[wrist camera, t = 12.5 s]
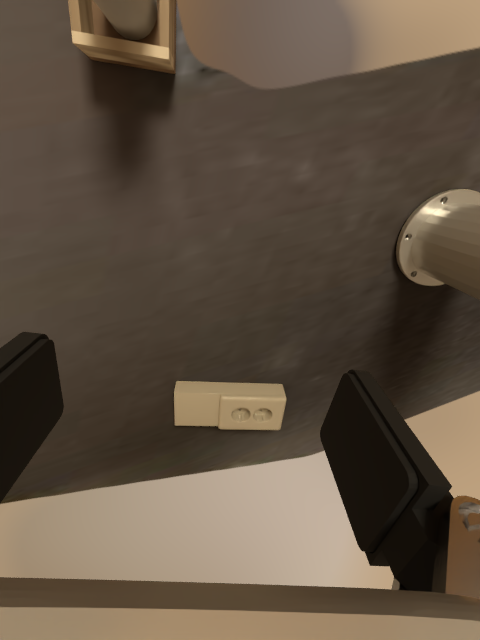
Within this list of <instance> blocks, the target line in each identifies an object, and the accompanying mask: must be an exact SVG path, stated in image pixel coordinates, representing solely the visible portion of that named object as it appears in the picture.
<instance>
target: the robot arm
mask: <svg viewBox="0 0 480 640" xmlns="http://www.w3.org/2000/svg"><path fill="white" fill-rule="evenodd" d="M396 258H397V263H398V266H399V268H400V270H401V271H402V273H403V274H404V275H405V276H406V277H407V278H408V279H410V280H412V281H413V282H415V283H417V284H421V285H424V286H438V285H443V284H447V285H449V286H451V287H453V288H455V289H458V290H460V291H462V292H464V293H466V294H468V295H470V296H472V297H474V298H476V299H478V300H480V193H479V192H477V191H473V190H469V189H453V190H448V191H444V192H441V193H439V194H437V195H435V196H432V197H431V198H429V199H428V200H426V201H425V202H423V203H422V204H421V205H420V206H419V207H418V208H417V209H416V210H414V212H413V213H412V214H411V215H410V217H409V218H408V219H407V221H406V222H405V224H404V226H403V227H402V230H401V232H400V235H399V237H398V241H397V246H396ZM63 408H64V405H63V398H62V392H61V386H60V379H59V373H58V366H57V360H56V353H55V347H54V342H53V341H52V340H49V338H48V337H47V335H45V334H38V333H30V332H22V333H20V334H19V335H17V336H16V337H15V338H13V339H12V340H11V341H9V342H8V343H7V344H5V345H4V346H3V347H1V348H0V503H1V501H2V500H3V499H4V497H5V496H6V494H7V493H8V491H9V490H10V489H11V487H12V486H13V484H14V483H15V481H16V480H17V479H18V477H19V476H20V474H21V473H22V471H23V470H24V469H25V467H26V466H27V464H28V463H29V461H30V460H31V459H32V457H33V456H34V454H35V453H36V451H37V450H38V449H39V447H40V446H41V444H42V443H43V441H44V440H45V439H46V437H47V436H48V434H49V433H50V431H51V430H52V429H53V427H54V426H55V424H56V423H57V421H58V420H59V419H60V417H61V415H62V412H63ZM320 437H321V441H322V444H323V447H324V450H325V453H326V456H327V458H328V461H329V464H330V467H331V470H332V472H333V475H334V478H335V481H336V484H337V487H338V490H339V492H340V495H341V498H342V501H343V504H344V507H345V509H346V512H347V515H348V518H349V521H350V524H351V527H352V530H353V532H354V535H355V538H356V541H357V544H358V545H359V547H360V549H361V550H362V551H365V553H366V556H367V559H368V561H369V564H370V566H390V568H391V571H392V573H393V575H394V581H393V585H392V590H388V589H370V588H345V587H317V586H287V585H259V584H225V583H194V582H159V581H125V580H122V581H121V580H86V579H46V578H44V579H43V578H4V577H0V640H480V500H478V499H475V498H472V497H469V496H457V497H456V498H453V496H452V495H451V494H450V492H449V490H450V489H451V487H452V486H451V484H450V483H449V482H448V480H447V479H446V477H445V476H444V475H443V473H442V472H441V470H440V469H439V468H438V466H437V465H436V464H435V462H434V461H433V460H432V458H431V457H430V456H429V454H428V452H427V451H426V450H425V448H424V447H423V446H422V444H421V443H420V441H419V440H418V439H417V437H416V436H415V434H414V433H413V432H412V430H411V429H410V428H409V426H408V425H407V423H406V422H405V421H404V419H403V418H402V417H401V415H400V414H399V412H398V411H397V410H396V408H395V407H394V405H393V404H392V403H391V401H390V400H389V399H388V397H387V396H386V394H385V393H384V392H383V390H382V389H381V387H380V386H379V385H378V383H377V382H376V381H375V379H374V378H373V376H372V375H371V374H370V373H369V372H367V371H360V370H349V371H348V373H345V374H343V376H342V378H341V380H340V383H339V385H338V388H337V390H336V393H335V395H334V398H333V400H332V403H331V405H330V408H329V410H328V413H327V415H326V418H325V420H324V423H323V425H322V427H321V431H320Z"/></svg>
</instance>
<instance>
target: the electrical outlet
mask: <svg viewBox="0 0 480 640" xmlns="http://www.w3.org/2000/svg"><path fill="white" fill-rule="evenodd" d="M285 405H286V395H285V392H284V388H283V385H282V384H259V383H224V382H189V381H177V382H176V386H175V391H174V408H175V425H178V426H218V428H219V429H237V430H280V429H281V424H282V419H283V414H284V409H285Z"/></svg>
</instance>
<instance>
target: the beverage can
mask: <svg viewBox="0 0 480 640" xmlns="http://www.w3.org/2000/svg"><path fill="white" fill-rule="evenodd" d="M94 2H95V3H96V4H97V6H98V7H99V8H100V10H101V11H102V12H103V14H104V15H105V16H106V18H107V19H108V20H109V22H110V23H111V25H112V26H113V27H114V29H115V30H116V31H117V32H118V33H119V34H120V35H122V36H123V37H125V38H127V39H130V40H140V39H143V38H145V37H146V36H147V35H149V34H150V32H151V31H152V29H153V28H154V25H155V22H156V19H157V0H94Z"/></svg>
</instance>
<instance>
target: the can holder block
mask: <svg viewBox="0 0 480 640" xmlns="http://www.w3.org/2000/svg"><path fill="white" fill-rule="evenodd" d="M68 4H69V13H70V22H71V31H72V40H73V43H74V44H75V45H76V46H77V47H78V48H79V49H80V50H81V51H82V52H84V53H85V54H86V55H87V56H88V57H89V58H90V59H91V60H95V61H101V62H107V63H113V64H119V65H125V66H131V67H137V68H143V69H149V70H155V71H161V72H166V73H172V74H175V62H176V0H157V19H156V22H155V25H154V28H153V29H152V31H151V32H150V34H149V35H147V36H146V37H145V38H143V39H140V40H130V39H127V38H125V37H123V36H122V35H120V34H119V33H118V32H117V31H116V30H115V29H114V27H113V26H112V25H111V23H110V22H109V20H108V19H107V18H106V16H105V15H104V14H103V12H102V11H101V10H100V8H99V7H98V6H97V4H96V3H95V2H94V0H68Z"/></svg>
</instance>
